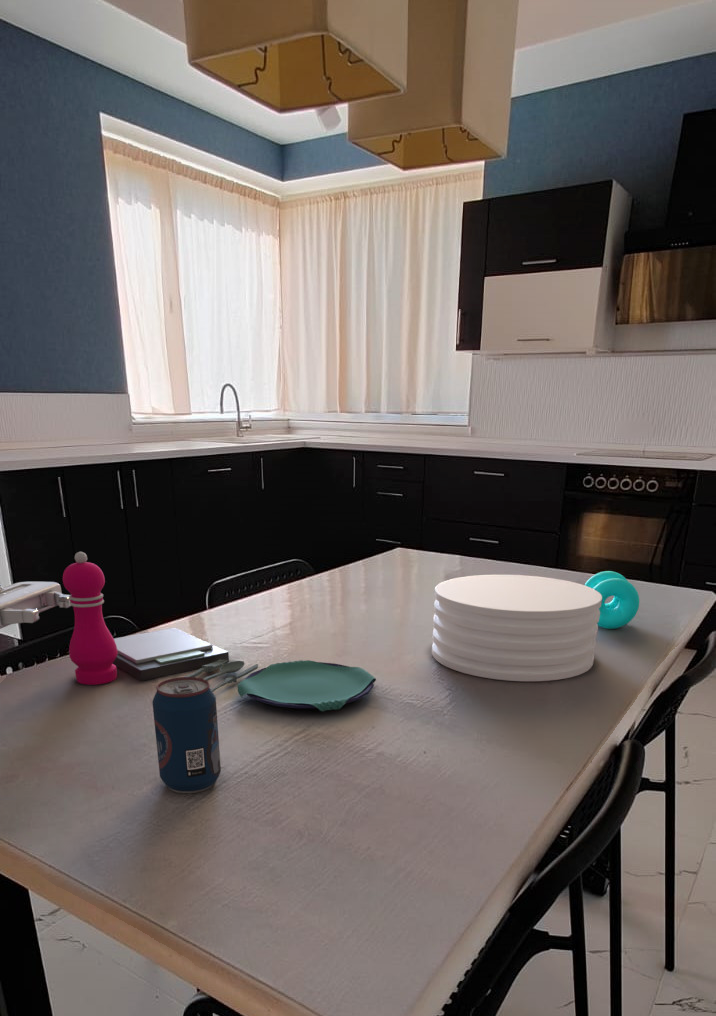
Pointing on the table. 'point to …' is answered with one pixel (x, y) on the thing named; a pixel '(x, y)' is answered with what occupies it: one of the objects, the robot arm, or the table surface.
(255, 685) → the cutlery set
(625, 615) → the donuts
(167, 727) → the soda can
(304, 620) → the table surface
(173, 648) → the kitchen scale
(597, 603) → the plate stack
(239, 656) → the table surface
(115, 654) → the pepper mill
